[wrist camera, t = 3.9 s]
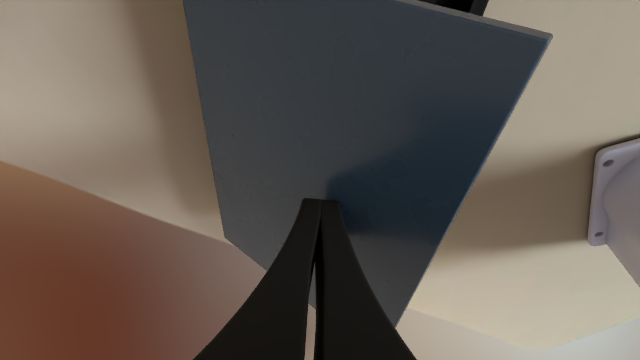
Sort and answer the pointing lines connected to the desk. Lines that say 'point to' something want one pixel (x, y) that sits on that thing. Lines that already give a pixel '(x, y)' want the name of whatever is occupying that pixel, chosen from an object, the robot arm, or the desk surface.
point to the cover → (354, 120)
